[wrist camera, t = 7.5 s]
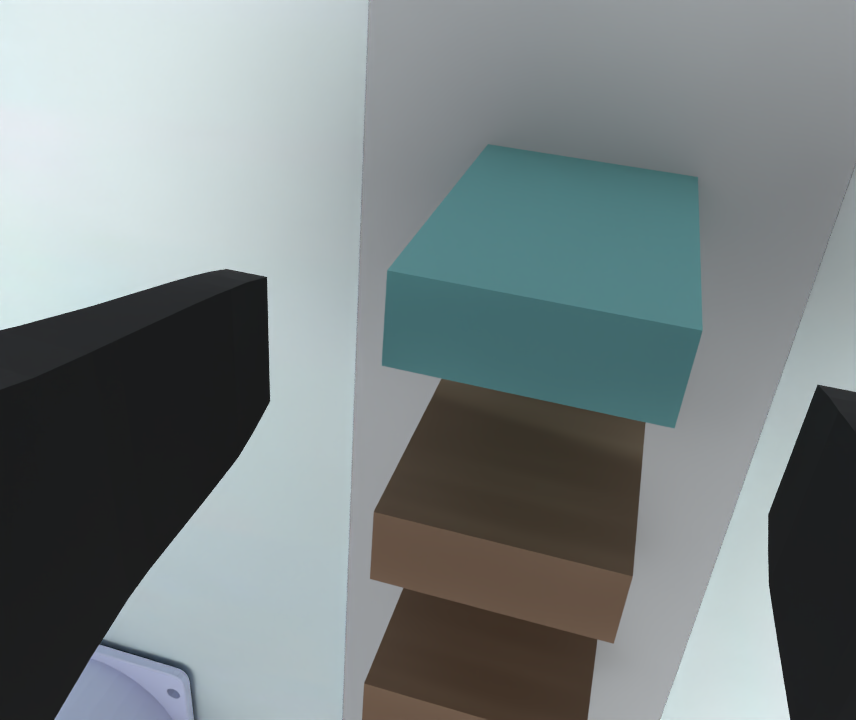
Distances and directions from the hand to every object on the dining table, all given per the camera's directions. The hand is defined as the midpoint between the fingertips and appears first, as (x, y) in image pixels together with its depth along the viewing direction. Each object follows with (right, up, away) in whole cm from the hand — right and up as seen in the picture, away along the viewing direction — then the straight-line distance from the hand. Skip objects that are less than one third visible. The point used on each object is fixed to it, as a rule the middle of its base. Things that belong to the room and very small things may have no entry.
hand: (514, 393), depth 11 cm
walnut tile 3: (+1, -4, +11) cm, 12 cm away
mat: (+2, -3, +11) cm, 12 cm away
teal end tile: (+2, +4, +7) cm, 8 cm away
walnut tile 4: (+2, 0, +9) cm, 9 cm away
